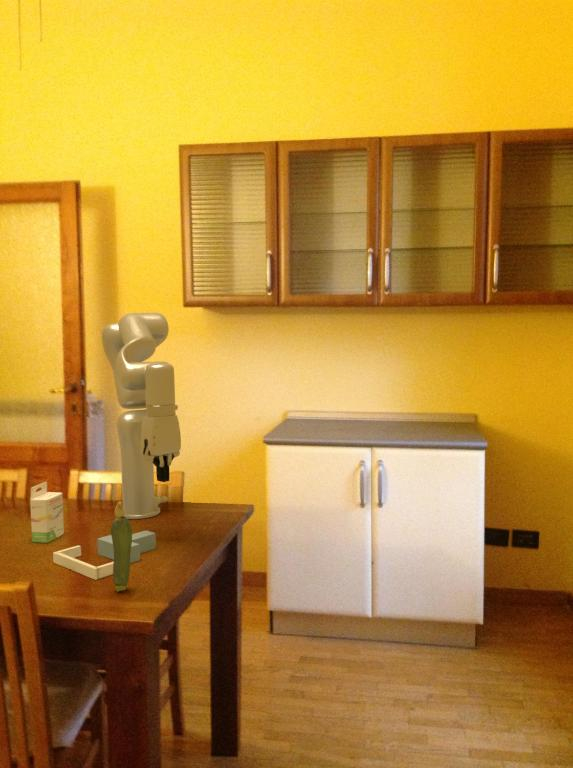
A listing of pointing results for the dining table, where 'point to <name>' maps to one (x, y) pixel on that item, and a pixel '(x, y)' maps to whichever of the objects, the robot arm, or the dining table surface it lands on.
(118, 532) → the vegetable
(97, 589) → the dining table surface
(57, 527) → the ink box
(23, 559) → the dining table surface
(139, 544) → the t block
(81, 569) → the dock
